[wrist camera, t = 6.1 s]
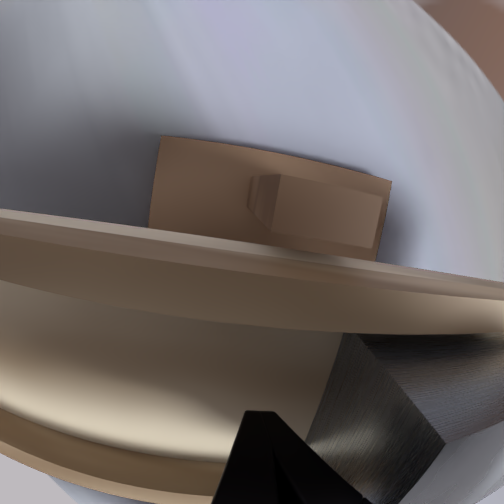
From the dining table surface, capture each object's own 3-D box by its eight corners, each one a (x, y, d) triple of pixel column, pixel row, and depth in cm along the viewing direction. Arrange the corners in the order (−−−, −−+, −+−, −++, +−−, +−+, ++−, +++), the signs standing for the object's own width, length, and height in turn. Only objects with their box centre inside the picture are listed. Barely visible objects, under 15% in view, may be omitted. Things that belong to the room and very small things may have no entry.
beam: (468, 423, 12) (493, 450, 9) (-24, 388, 8) (-52, 421, 6) (530, 287, 10) (568, 305, 7) (-56, 201, 6) (-106, 213, 4)
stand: (314, 417, 16) (349, 507, 10) (145, 405, 15) (121, 503, 8) (381, 180, 13) (489, 191, 7) (165, 138, 12) (110, 99, 5)
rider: (449, 421, 10) (503, 485, 5) (302, 446, 9) (339, 557, 4) (497, 323, 9) (577, 377, 4) (346, 322, 8) (446, 443, 3)
